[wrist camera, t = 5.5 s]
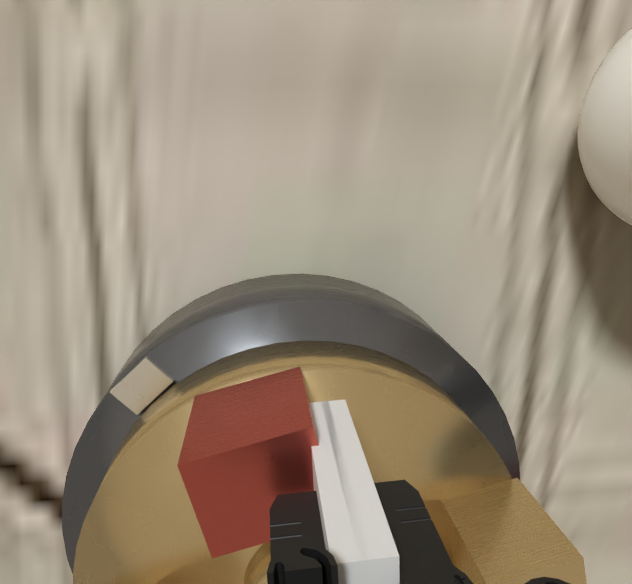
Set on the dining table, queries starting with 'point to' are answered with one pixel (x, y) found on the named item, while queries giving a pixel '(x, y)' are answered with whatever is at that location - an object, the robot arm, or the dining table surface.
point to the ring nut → (302, 472)
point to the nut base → (258, 330)
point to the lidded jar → (609, 130)
